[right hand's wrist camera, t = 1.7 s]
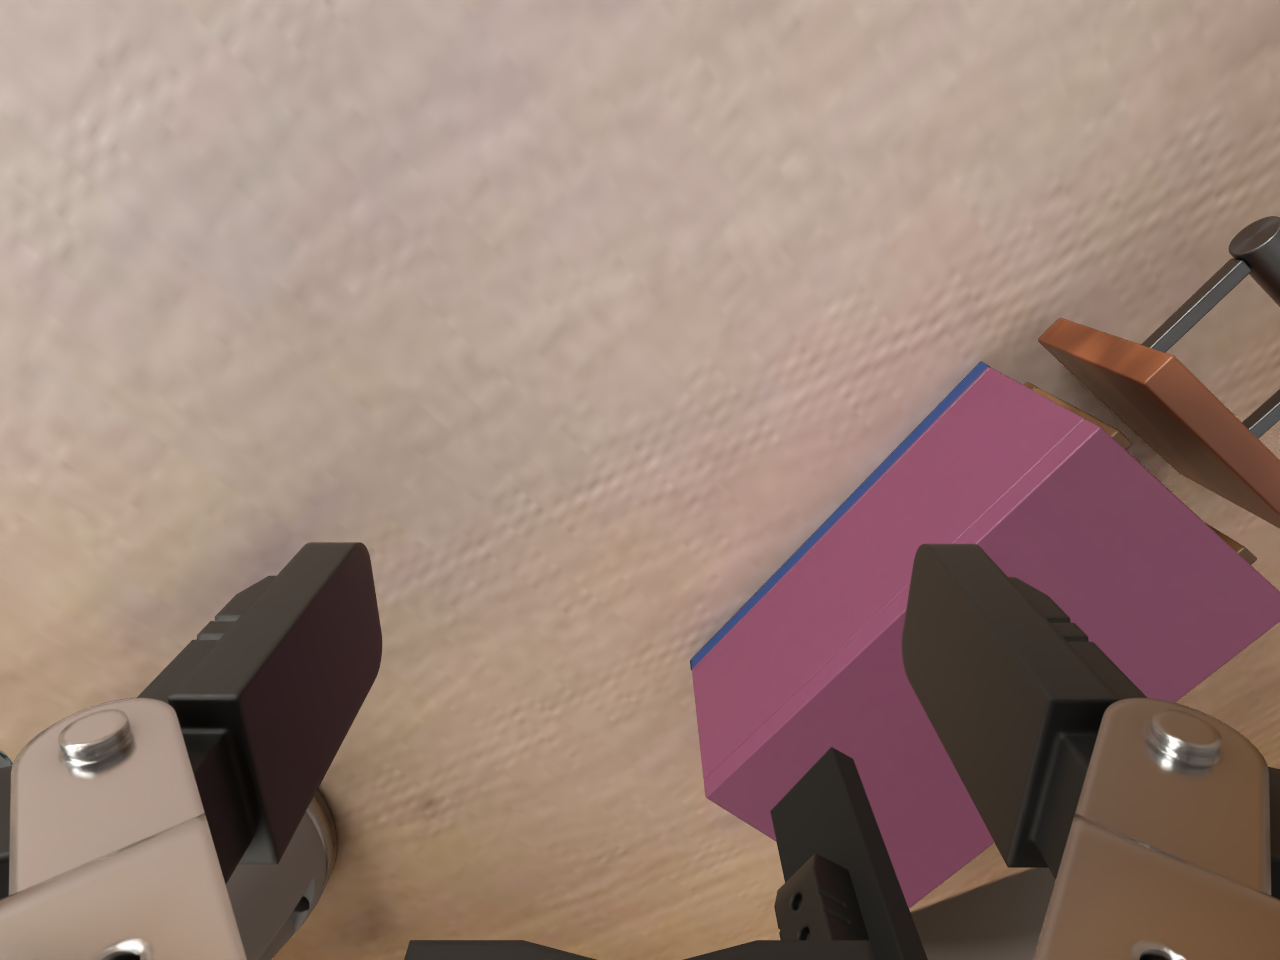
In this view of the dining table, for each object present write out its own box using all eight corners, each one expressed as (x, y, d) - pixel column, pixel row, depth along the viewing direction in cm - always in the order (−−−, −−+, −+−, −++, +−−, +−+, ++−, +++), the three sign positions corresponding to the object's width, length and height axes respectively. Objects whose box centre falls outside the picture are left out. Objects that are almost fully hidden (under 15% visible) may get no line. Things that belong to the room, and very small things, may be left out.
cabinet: (980, 361, 32) (1100, 426, 24) (1139, 504, 34) (1298, 608, 26) (689, 660, 38) (704, 797, 29) (844, 764, 40) (897, 918, 32)
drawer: (1188, 185, 28) (1351, 188, 22) (1331, 340, 31) (1518, 384, 24) (760, 619, 36) (787, 718, 29) (900, 719, 38) (955, 832, 31)
